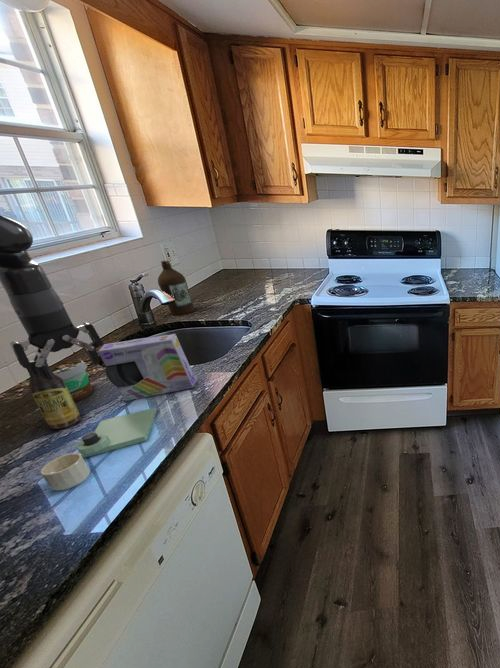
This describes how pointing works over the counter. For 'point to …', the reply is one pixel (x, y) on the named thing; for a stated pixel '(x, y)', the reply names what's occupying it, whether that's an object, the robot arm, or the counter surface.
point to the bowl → (65, 471)
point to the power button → (90, 439)
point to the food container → (75, 380)
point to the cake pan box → (147, 366)
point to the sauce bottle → (53, 398)
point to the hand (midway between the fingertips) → (73, 370)
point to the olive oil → (175, 289)
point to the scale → (120, 432)
